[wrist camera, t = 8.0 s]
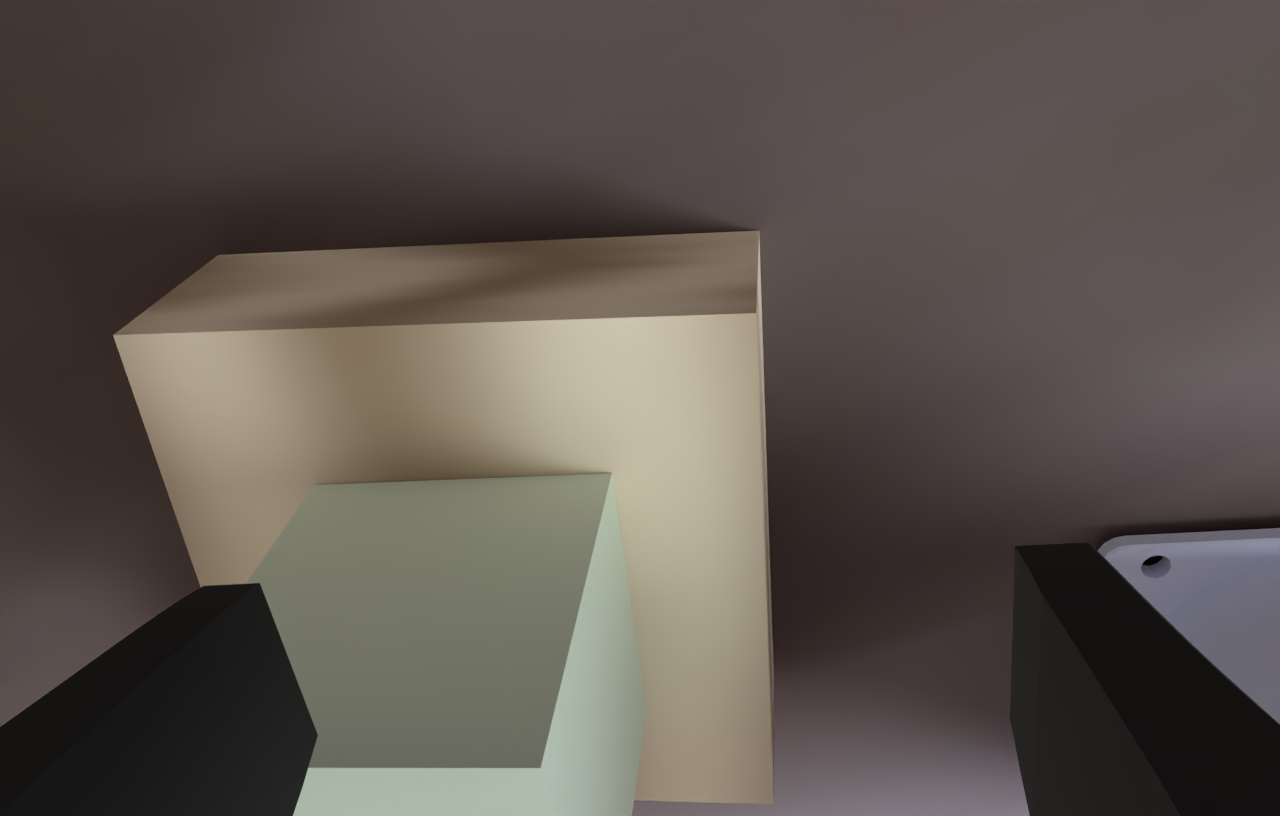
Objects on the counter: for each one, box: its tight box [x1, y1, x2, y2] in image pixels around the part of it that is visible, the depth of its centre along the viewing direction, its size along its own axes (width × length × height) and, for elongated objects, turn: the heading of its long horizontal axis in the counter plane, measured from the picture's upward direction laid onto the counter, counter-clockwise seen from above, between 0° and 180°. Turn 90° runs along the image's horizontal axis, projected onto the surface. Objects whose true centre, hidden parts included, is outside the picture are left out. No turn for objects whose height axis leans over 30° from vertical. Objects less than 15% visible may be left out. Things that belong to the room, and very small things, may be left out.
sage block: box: [246, 473, 647, 816], centre depth 16 cm, size 5×5×6 cm
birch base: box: [113, 231, 774, 804], centre depth 20 cm, size 10×10×4 cm
